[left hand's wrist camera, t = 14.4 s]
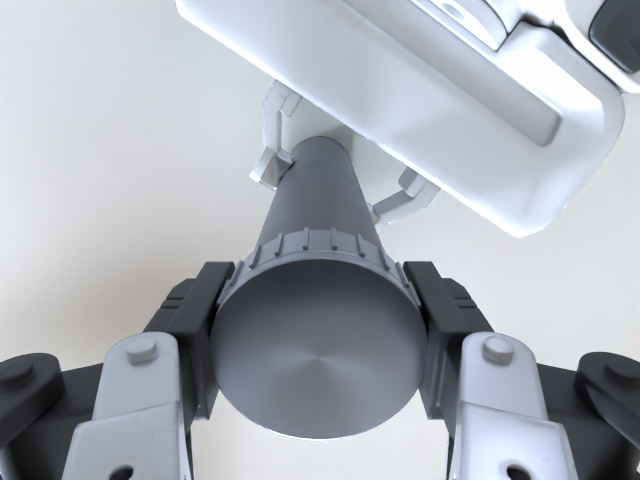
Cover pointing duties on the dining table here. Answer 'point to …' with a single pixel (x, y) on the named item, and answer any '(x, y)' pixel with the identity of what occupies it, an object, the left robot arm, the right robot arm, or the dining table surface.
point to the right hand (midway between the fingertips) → (310, 210)
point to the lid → (318, 336)
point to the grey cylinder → (319, 195)
